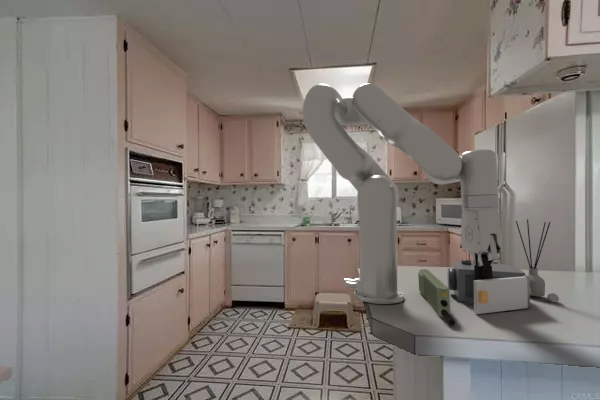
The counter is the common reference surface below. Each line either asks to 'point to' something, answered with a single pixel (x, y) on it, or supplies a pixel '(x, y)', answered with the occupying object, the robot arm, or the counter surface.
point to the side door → (501, 294)
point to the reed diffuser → (535, 280)
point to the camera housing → (464, 278)
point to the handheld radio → (435, 294)
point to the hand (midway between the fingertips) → (483, 282)
